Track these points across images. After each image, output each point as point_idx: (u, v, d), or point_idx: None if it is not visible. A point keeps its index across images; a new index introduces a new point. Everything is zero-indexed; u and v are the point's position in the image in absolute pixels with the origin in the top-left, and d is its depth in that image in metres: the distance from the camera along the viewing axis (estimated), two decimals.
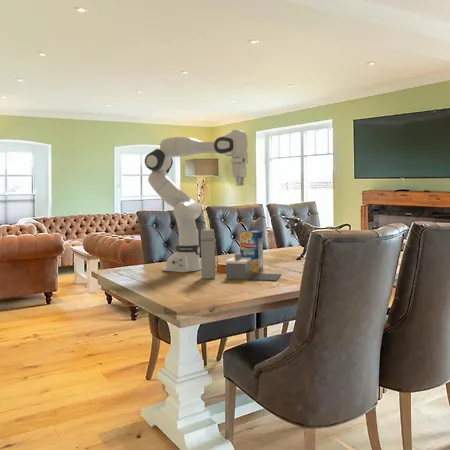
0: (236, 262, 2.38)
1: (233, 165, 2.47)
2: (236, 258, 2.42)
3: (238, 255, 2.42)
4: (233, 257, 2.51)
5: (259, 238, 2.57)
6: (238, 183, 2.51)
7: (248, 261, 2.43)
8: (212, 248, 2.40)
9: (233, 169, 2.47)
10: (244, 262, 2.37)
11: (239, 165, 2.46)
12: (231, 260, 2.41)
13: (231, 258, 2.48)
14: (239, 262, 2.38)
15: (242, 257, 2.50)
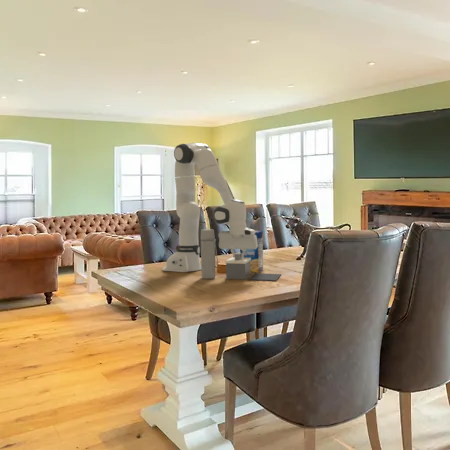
0: (236, 262, 2.38)
1: (255, 237, 2.40)
2: (236, 258, 2.42)
3: (238, 255, 2.42)
4: None
5: (259, 238, 2.57)
6: (243, 254, 2.44)
7: (248, 261, 2.43)
8: (212, 248, 2.40)
9: (256, 241, 2.40)
10: (244, 262, 2.37)
11: (256, 237, 2.43)
12: (231, 260, 2.41)
13: (231, 258, 2.48)
14: (239, 262, 2.38)
15: None
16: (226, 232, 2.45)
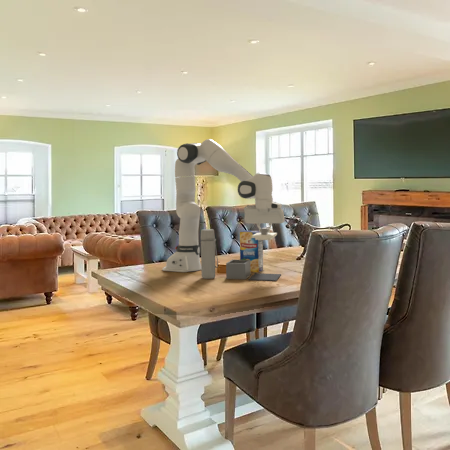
0: (263, 236, 2.33)
1: (281, 211, 2.35)
2: (262, 233, 2.37)
3: (264, 229, 2.37)
4: None
5: None
6: (269, 229, 2.39)
7: None
8: (212, 248, 2.40)
9: (283, 215, 2.35)
10: (271, 236, 2.32)
11: (282, 211, 2.38)
12: (257, 235, 2.36)
13: (257, 233, 2.43)
14: (266, 236, 2.33)
15: None
16: (252, 206, 2.40)
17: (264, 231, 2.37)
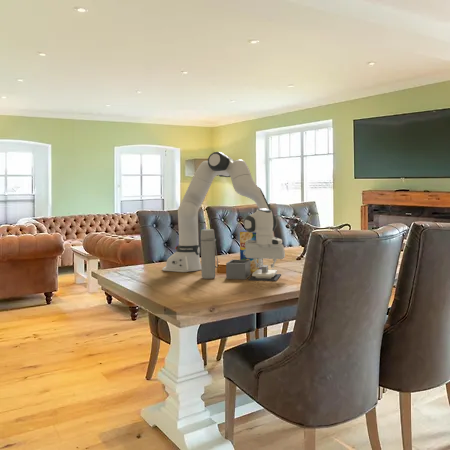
0: (263, 275, 2.35)
1: (282, 247, 2.36)
2: (263, 271, 2.39)
3: (265, 268, 2.39)
4: (259, 269, 2.48)
5: None
6: None
7: None
8: (212, 248, 2.40)
9: (283, 251, 2.36)
10: (272, 275, 2.34)
11: (283, 246, 2.39)
12: (258, 273, 2.38)
13: (257, 270, 2.44)
14: (266, 275, 2.35)
15: None
16: (253, 241, 2.41)
17: (264, 269, 2.39)
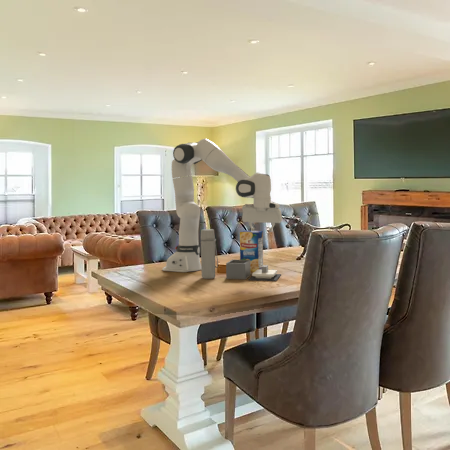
0: (263, 275, 2.35)
1: (279, 211, 2.37)
2: (263, 271, 2.39)
3: (265, 268, 2.39)
4: (259, 269, 2.48)
5: (259, 238, 2.57)
6: (272, 229, 2.40)
7: None
8: (212, 248, 2.40)
9: (280, 215, 2.37)
10: (272, 275, 2.34)
11: (280, 211, 2.40)
12: (258, 273, 2.38)
13: (257, 270, 2.44)
14: (266, 275, 2.35)
15: None
16: (250, 205, 2.42)
17: (264, 269, 2.39)
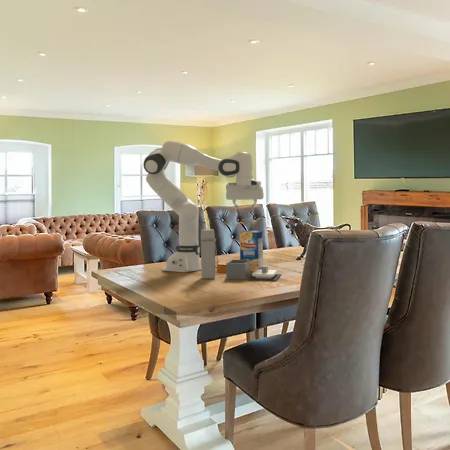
0: (263, 275, 2.35)
1: (261, 188, 2.49)
2: (263, 271, 2.39)
3: (265, 268, 2.39)
4: (259, 269, 2.48)
5: (259, 238, 2.57)
6: (254, 205, 2.52)
7: None
8: (212, 248, 2.40)
9: (262, 192, 2.49)
10: (272, 275, 2.34)
11: (262, 188, 2.52)
12: (258, 273, 2.38)
13: (257, 270, 2.44)
14: (266, 275, 2.35)
15: None
16: (233, 184, 2.54)
17: (264, 269, 2.39)
